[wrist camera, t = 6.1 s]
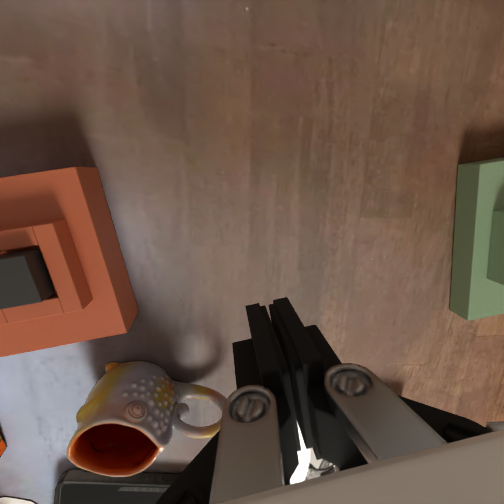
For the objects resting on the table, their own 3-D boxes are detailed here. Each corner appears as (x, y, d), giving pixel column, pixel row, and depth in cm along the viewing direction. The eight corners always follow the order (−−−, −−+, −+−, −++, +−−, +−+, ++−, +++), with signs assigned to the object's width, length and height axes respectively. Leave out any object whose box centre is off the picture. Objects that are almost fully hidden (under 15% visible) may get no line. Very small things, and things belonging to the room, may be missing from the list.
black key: (-12, 256, 17) (-33, 264, 16) (39, 248, 18) (23, 255, 16) (7, 300, 18) (-11, 311, 17) (56, 292, 18) (42, 302, 17)
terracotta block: (-32, 186, 20) (-109, 190, 16) (96, 167, 21) (61, 165, 16) (29, 332, 24) (-18, 372, 19) (138, 311, 24) (120, 345, 20)
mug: (98, 416, 27) (62, 492, 20) (97, 352, 25) (56, 414, 19) (226, 416, 28) (229, 486, 22) (233, 356, 27) (239, 414, 20)
